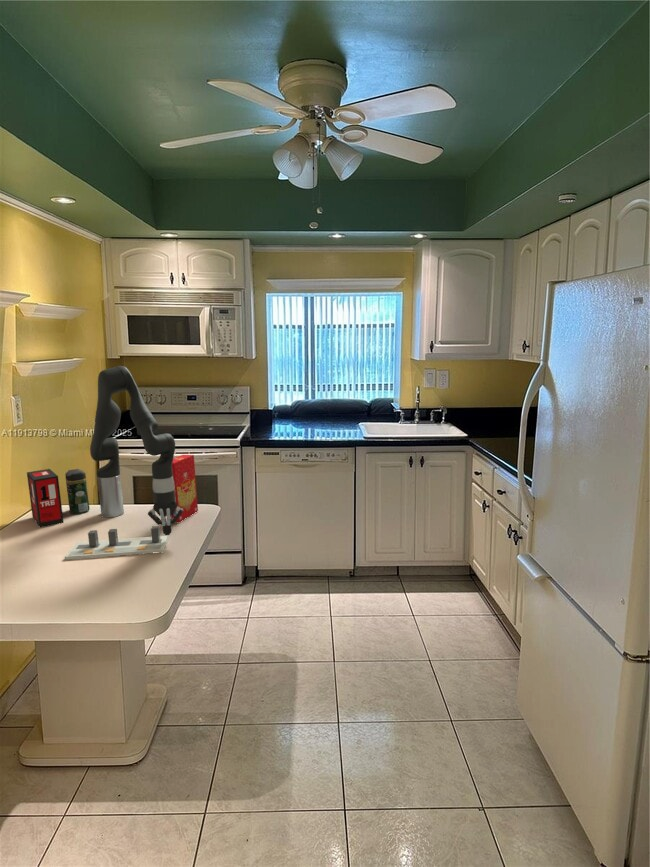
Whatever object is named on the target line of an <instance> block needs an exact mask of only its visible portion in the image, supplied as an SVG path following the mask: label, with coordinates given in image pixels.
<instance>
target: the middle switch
mask: <svg viewBox="0 0 650 867" xmlns="http://www.w3.org/2000/svg"><path fill="white" fill-rule="evenodd" d="M107 537H108V540H109V545H116V544H117V543H118V539H119V538H118V529H117V528H111V529H110V528H109V530H108V532H107Z"/></svg>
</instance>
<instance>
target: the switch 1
mask: <svg viewBox="0 0 650 867" xmlns="http://www.w3.org/2000/svg"><path fill="white" fill-rule="evenodd" d="M87 536H88V537H87V538H88V541H89V547H93V546H97V545H98V543H99V542H98V540H99V534H98V530H97V529H92V530H90V531H89V532H88V533H87Z"/></svg>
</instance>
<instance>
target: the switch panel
mask: <svg viewBox="0 0 650 867" xmlns="http://www.w3.org/2000/svg"><path fill="white" fill-rule="evenodd" d="M168 538H169V535H160V541H159V542H152V536H144V537H141V536H140V537H129V538H118V543H117V544H116V545H109V539H102V540H101V539H98V542H99V543H98V545H97V546H93V547H89V540H87V541H76V543H75V544H74V545H73V546H72V547H71V549H70V550H69V551H68V552H67V553H66V554H65V555H64V560H65V561H69V560H70V561H71V560H84V559H85V558H86V559H95V557H99V558H107V557H106V556H113V557H120V556H119V555H126V556H132V555H131V554H139V555H144V554H143V553H153V552H163V553H164V551H163V550H165V549H166V546H167V544H166V543H168V541H169V539H168ZM167 540H168V541H167ZM165 545H166V546H165ZM164 548H165V549H164ZM153 554H154V553H153Z"/></svg>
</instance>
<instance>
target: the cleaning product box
mask: <svg viewBox="0 0 650 867" xmlns="http://www.w3.org/2000/svg"><path fill="white" fill-rule="evenodd" d="M26 476H27V477H26V478H27V486H28V491H29V492H28V494H29V498H30V507H31V515H32V516H31V517H32V519H33V520H34V521H35V523H36V525H38V527H39V528H45V527H49V526H54V525H59V523H60V524H64V516H63V507H62V499H61V490H60V483H59V475H57V474H56V473H55V472H54V471H53V470H52V469H50V468H45V469H41V470H33V471H27V472H26Z"/></svg>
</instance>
